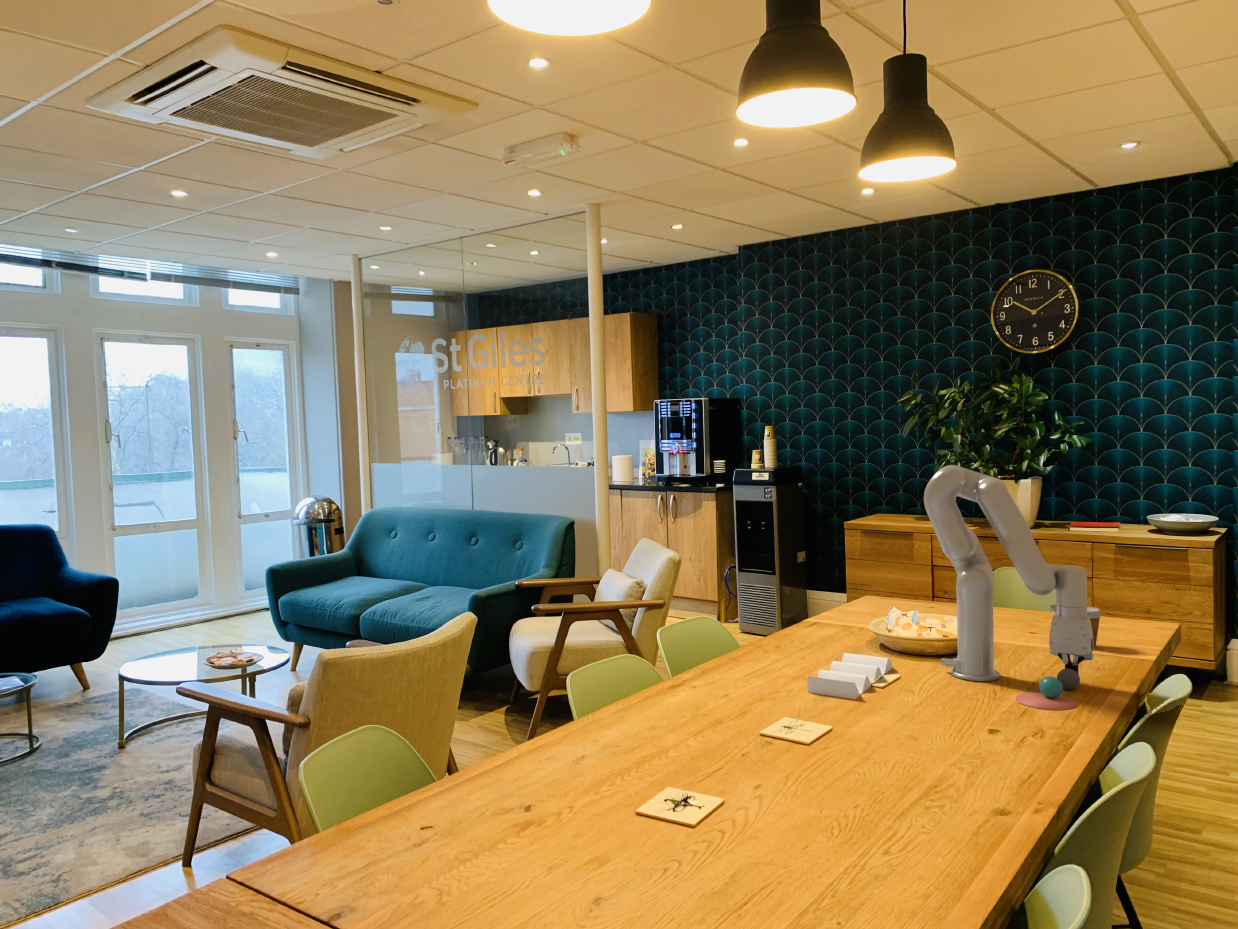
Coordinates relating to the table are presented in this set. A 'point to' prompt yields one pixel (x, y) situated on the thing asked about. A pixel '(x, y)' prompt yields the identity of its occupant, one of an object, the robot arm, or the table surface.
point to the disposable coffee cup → (1094, 622)
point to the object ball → (1051, 687)
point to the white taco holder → (849, 676)
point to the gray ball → (1068, 679)
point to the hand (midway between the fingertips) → (1071, 678)
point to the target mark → (1045, 701)
